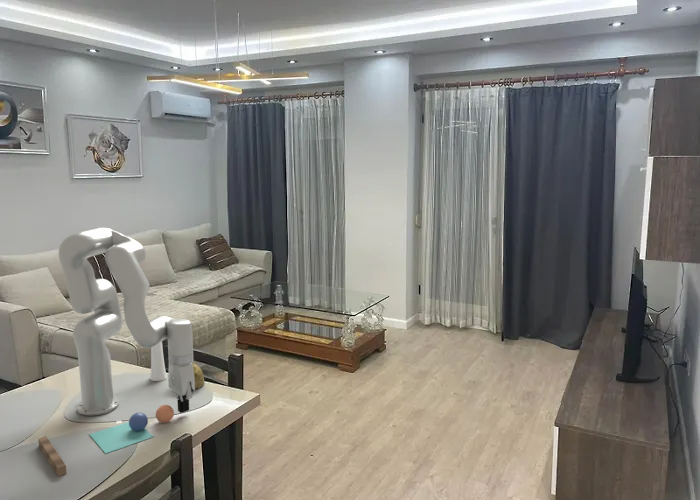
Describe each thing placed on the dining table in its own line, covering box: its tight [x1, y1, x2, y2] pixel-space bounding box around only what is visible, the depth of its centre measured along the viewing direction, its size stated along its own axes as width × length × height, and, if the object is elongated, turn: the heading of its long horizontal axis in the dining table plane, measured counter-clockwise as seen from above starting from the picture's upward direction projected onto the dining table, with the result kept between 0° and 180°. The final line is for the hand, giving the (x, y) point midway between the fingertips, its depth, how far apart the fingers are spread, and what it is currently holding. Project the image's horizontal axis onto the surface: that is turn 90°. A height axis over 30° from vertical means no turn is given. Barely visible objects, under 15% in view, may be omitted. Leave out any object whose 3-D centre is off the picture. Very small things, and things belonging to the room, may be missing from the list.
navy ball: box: [128, 412, 149, 431], centre depth 166 cm, size 6×6×6 cm
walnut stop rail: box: [37, 435, 67, 477], centre depth 150 cm, size 20×2×2 cm, turn 42°
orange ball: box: [155, 404, 175, 424], centre depth 171 cm, size 6×6×6 cm
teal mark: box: [89, 421, 155, 454], centre depth 163 cm, size 14×14×1 cm
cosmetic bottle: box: [149, 341, 168, 382], centre depth 203 cm, size 6×6×22 cm
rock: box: [192, 362, 206, 390], centre depth 198 cm, size 10×11×10 cm
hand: (183, 410), depth 176 cm, fingers closed
